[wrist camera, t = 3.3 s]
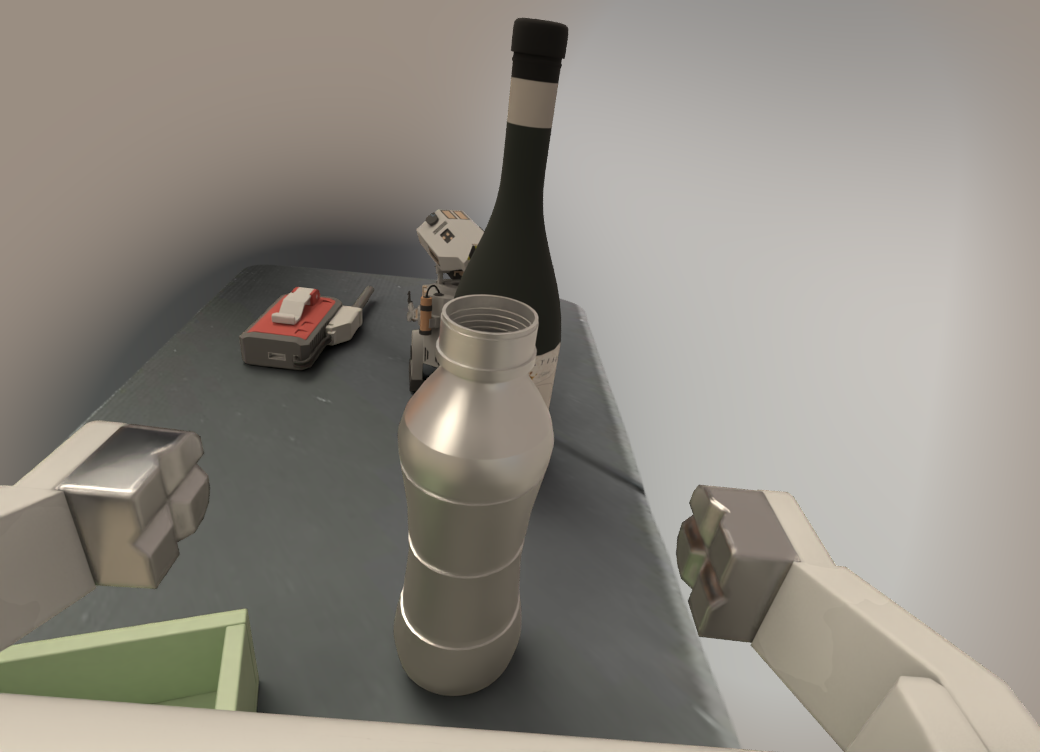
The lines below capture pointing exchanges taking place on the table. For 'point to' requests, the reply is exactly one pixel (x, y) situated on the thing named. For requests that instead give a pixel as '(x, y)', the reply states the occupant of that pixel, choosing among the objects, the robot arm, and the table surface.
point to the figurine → (439, 282)
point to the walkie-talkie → (300, 329)
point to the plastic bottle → (470, 495)
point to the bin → (144, 664)
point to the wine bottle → (525, 196)
